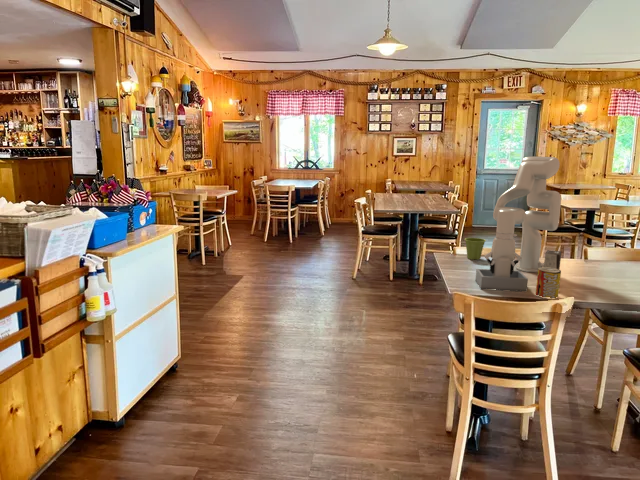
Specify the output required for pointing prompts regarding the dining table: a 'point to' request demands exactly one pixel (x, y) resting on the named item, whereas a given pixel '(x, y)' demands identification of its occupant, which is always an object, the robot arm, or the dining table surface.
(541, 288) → the beverage can
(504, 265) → the can
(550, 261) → the coffee box
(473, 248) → the plant pot
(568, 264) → the dining table surface
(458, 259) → the dining table surface
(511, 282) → the bin
